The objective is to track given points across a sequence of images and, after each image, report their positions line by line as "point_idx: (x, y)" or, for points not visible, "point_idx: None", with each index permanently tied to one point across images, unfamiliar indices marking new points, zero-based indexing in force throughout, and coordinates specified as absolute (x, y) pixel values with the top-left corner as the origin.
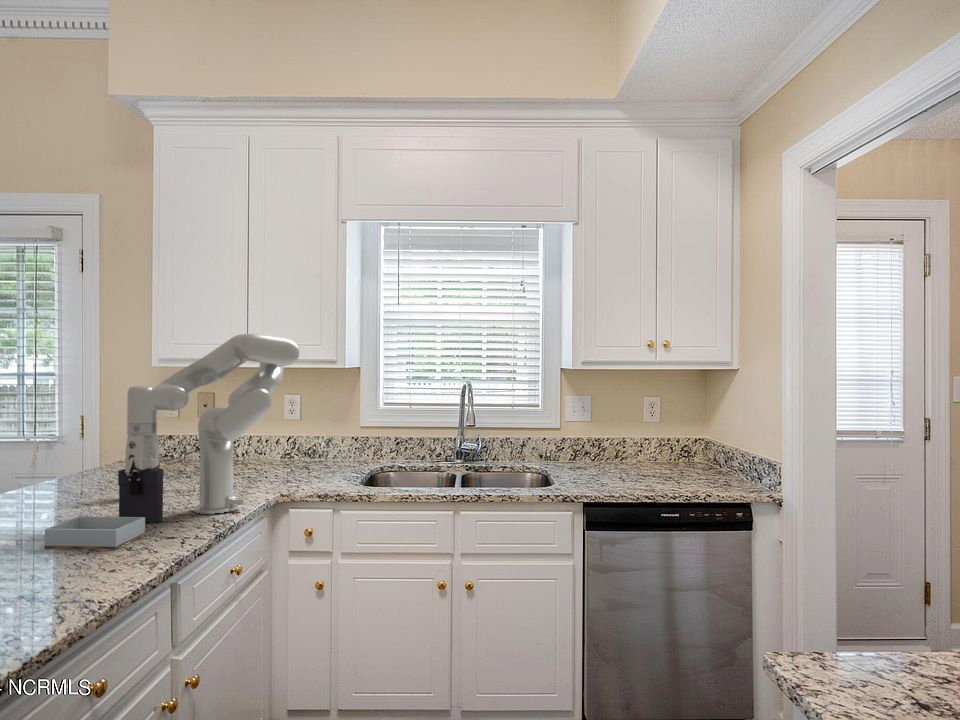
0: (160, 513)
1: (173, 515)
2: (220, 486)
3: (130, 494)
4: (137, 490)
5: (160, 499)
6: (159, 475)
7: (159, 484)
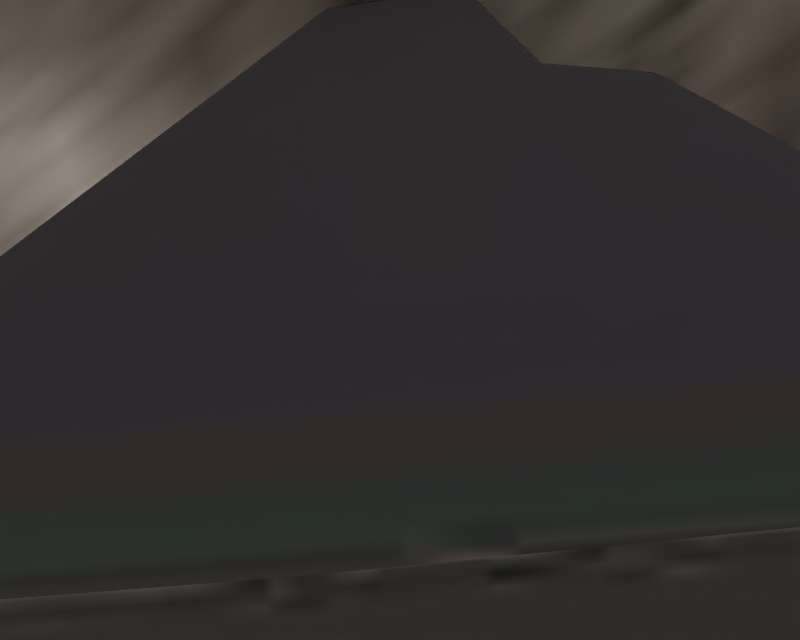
0: (391, 5)
1: (36, 36)
2: None
3: None
4: None
5: (391, 28)
6: (522, 197)
7: (473, 79)
